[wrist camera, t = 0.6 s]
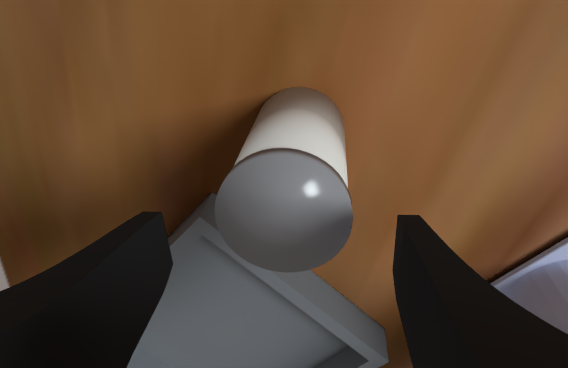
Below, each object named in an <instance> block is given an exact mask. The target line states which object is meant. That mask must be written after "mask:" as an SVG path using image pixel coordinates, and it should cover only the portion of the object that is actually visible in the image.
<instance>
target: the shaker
mask: <svg viewBox="0 0 568 368" xmlns="http://www.w3.org/2000/svg"><path fill="white" fill-rule="evenodd" d="M215 219H216V223H217V227H218V229H219V232H220V234H221V236H222V237H223V239H224V241H225V242H226V243H227V245H228V246H229V247H230V248H231V249H232V250H233V251H234V252H235V253H236V254H237V255H238V256H240V257H241V258H243V259H244V260H246V261H247V262H249V263H251V264H253V265H255V266H258V267H260V268H263V269H266V270H270V271H275V272H285V273H289V272H301V271H306V270H310V269H313V268H316V267H318V266H320V265H322V264H324V263H326V262H328V261H329V260H331V259H332V258H333V257H334V256H335V255H337V254H338V253H339V251H340V250H341V249H342V248H343V246H344V245H345V243H346V242H347V240H348V238H349V235H350V232H351V228H352V221H353V216H352V202H351V197H350V193H349V190H348V184H347V167H346V150H345V133H344V122H343V118H342V115H341V113H340V111H339V109H338V107H337V106H336V104H335V103H334V102H333V101H332V100H331V99H330V98H329V97H327V96H326V95H325V94H323V93H321V92H319V91H317V90H314V89H311V88H306V87H292V88H288V89H284V90H282V91H279V92H277V93H276V94H274V95H273V96H271V97H270V98H269V99H268V100H267V101H266V102H265V103H264V105H263V106H262V108H261V110H260V112H259V114H258V116H257V118H256V120H255V122H254V124H253V126H252V128H251V131H250V133H249V135H248V137H247V139H246V141H245V143H244V145H243V147H242V150H241V152H240V154H239V156H238V158H237V160H236V162H235V164H234V166H233V167H232V169H231V170H230V171H229V172H228V174H227V175H226V177H225V179H224V181H223V183H222V185H221V187H220V189H219V191H218V194H217V197H216V201H215Z"/></svg>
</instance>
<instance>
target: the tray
mask: <svg viewBox="0 0 568 368" xmlns="http://www.w3.org/2000/svg"><path fill="white" fill-rule="evenodd" d="M216 197H217V195H215V194H214V193H213V192H212V193H211V194H210V195H209V196H208V197H207V198H206V199H205V200H204V201H203V202H202V203H201V204H200V205H199V206H198V207H197V208H196V209H195V210H194V211H193V212H192V213H191V214H190V215H189V216H188V217H187V218H186V219H185V220H184V221H183V222H182V223H181V225H180V226H179V227H178V228H177V229H176V230H175V231H174V232H173V233H172V234H171V235H170V236H169V237H168V242H169V247H170V251H171V256H172V260H173V267H172V270H171V273H170V276H169V279H168V282H167V285H166V288H165V291H164V293H163V295H162V297H161V299H160V301H159V303H158V305H157V307H156V309H155V311H154V313H153V315H152V317H151V319H150V321H149V323H148V325H147V327H146V329H145V331H144V333H143V335H142V337H141V339H140V341H139V343H138V345H137V347H136V349H135V351H134V353H133V355H132V357H131V359H130V361H129V364H128V366H127V368H379V367H381V366H383V365H384V364H386V363H388V362H389V359H388V351H387V344H386V336H385V329H384V328H383V327H382V326H380V325H379V324H378V323H377V322H375V321H374V320H373V319H372V318H370V317H369V316H368V315H367V314H365V313H364V312H363V311H362V310H360V309H359V308H358V307H357V306H355V305H354V304H353V303H351V302H350V301H349V300H348V299H346V298H345V297H344V296H343V295H341V294H340V293H339V292H338V291H336V290H335V289H334V288H333V287H331V286H330V285H329V284H328V283H326V282H325V281H324V280H322V279H321V278H320V277H319V276H317V275H316V274H315V273H314V272H312V271H311V270H306V271H301V272H289V273H285V272H275V271H270V270H266V269H263V268H260V267H258V266H255V265H253V264H251V263H249V262H247V261H246V260H244V259H243V258H241V257H240V256H238V255H237V254H236V253H235V252H234V251H233V250H232V249H231V248H230V247H229V246H228V245H227V243H226V242H225V241H224V239H223V237H222V236H221V234H220V232H219V229H218V227H217V223H216V219H215V201H216Z"/></svg>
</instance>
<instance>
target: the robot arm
mask: <svg viewBox="0 0 568 368" xmlns="http://www.w3.org/2000/svg"><path fill="white" fill-rule="evenodd" d="M172 267H173V260H172V256H171V251H170V247H169V242H168V238H167V233H166V229H165V224H164V220H163V215H162V212H142V213H140V214H138V215H136V216H135V217H133V218H131V219H130V220H128V221H126V222H125V223H123V224H122V225H120V226H119V227H117V228H115V229H114V230H112V231H111V232H109V233H108V234H106V235H105V236H103V237H102V238H100V239H98V240H97V241H95V242H94V243H92V244H91V245H89V246H87V247H86V248H84V249H82V250H81V251H79V252H77V253H76V254H74V255H72V256H70V257H69V258H67V259H65V260H64V261H62V262H60V263H59V264H57V265H55V266H53V267H51V268H49V269H47V270H46V271H44V272H42V273H40V274H38V275H36V276H34V277H31V278H29V279H27V280H25V281H23V282H21V283H19V284H17V285H14V286H12V287H10V288H7V289H5V290H2V291H0V368H127V366H128V364H129V361H130V359H131V357H132V355H133V353H134V351H135V349H136V347H137V345H138V343H139V341H140V339H141V337H142V335H143V333H144V331H145V329H146V327H147V325H148V323H149V321H150V319H151V317H152V315H153V313H154V311H155V309H156V307H157V305H158V303H159V301H160V299H161V297H162V295H163V293H164V291H165V288H166V285H167V282H168V279H169V276H170V273H171V270H172ZM393 277H394V286H395V294H396V301H397V305H398V309H399V313H400V317H401V321H402V325H403V329H404V333H405V337H406V341H407V345H408V349H409V353H410V357H411V361H412V364H413V368H568V237H567V238H566V239H564V240H562V241H561V242H559V243H557V244H556V245H554V246H552V247H551V248H549V249H547V250H545V251H544V252H542V253H540V254H539V255H537V256H535V257H534V258H532V259H530V260H529V261H527V262H525V263H524V264H522V265H520V266H519V267H517V268H515V269H514V270H512V271H510V272H509V273H507V274H505V275H504V276H502V277H500V278H499V279H497V280H495V281H494V282H492V283H488V282H487V281H486V280H485V279H483V278H482V277H481V276H480V275H479V274H478V273H476V272H475V271H474V270H473V269H472V268H471V267H469V266H468V265H467V264H466V263H465V262H464V261H463V260H462V259H461V258H460V257H459V256H458V255H457V254H456V253H455V252H454V251H453V250H451V249H450V248H449V247H448V245H447V244H446V243H445V242H444V241H443V240H442V239H441V238H440V237H439V236H438V235H437V234H436V233H435V232H434V231H433V230H432V228H431V227H430V226H429V225H428V224H427V223H426V222H425V221H424V220H423V219H422V218H421V217H420V216H419V215H398V217H397V228H396V239H395V250H394V261H393Z"/></svg>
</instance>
